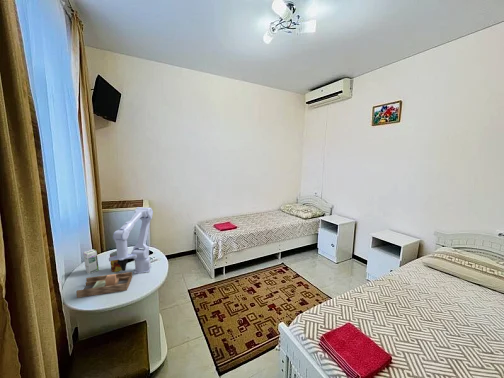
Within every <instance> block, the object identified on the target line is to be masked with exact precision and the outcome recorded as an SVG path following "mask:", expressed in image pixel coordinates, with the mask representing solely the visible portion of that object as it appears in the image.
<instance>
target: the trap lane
mask: <svg viewBox="0 0 504 378" xmlns="http://www.w3.org/2000/svg"><path fill="white" fill-rule="evenodd" d="M115 274H116V280H117V281H116V283H115V284H114V285H109V286H106V284H105V278H106V277H107V275H108V274H106V275H99V276H98V275H97V276H91V277H86V282H85V286H84V288H82V289H78V290H76V291H75V293H76V294H75V295H76V298H77V299H78V298H85V297H91V296H98V295H99V296H100V295H104V294H111V293H118V292H125V291H128V289H129V286H130V284H131V282H132V279H133V272H132V271H127V272H121V273H119V272H118V273H115Z"/></svg>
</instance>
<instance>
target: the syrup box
mask: <svg viewBox="0 0 504 378" xmlns="http://www.w3.org/2000/svg"><path fill="white" fill-rule="evenodd" d="M83 261H84V266H85V267H84V269H85V272H86V273H87V274H89V275H91V274H92V273H93V274H94V273H96V272H99V271H100V270H99V269H100V268H99V260H98V253H97V250H96V249H90V250H88V251H84V252H83Z"/></svg>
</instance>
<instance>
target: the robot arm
mask: <svg viewBox="0 0 504 378" xmlns="http://www.w3.org/2000/svg"><path fill="white" fill-rule="evenodd" d="M153 214H154V210H153V209H152V207H142V206H141V207H140V206H137V207H136V209H134V214H133V215H132V216H131V218H130V219H129V220H127V221H125V222H124V224H122V226H121V227H120V228H119V229H117V230H115V231H114V232H113V233H112V234H113V235H112V239H113V240H114V243H115V247H116V248H115V249H116V251H117V256H113V257H110V256H109V258H108V262H110V261H113V260H118V262H117V263H118V264H119V265H120V267H121V269H122V271H121V272H125V271H126V269H127V264H128V261H129V260H130V259H133V261H134V266H135V267H134V268H135V269H134V272H133V274H134V275H135V274H144V273H149V272H150V270H151V268H152V266H151V265H152V264H151V256H150V257H149V255H150V251H149V250H150V247H149V246H148V245H147V240H148V235H149V229H150V224H151V220H153ZM139 220H141V227H140V231H139V236H138V239H137V244H135V245H134V246H132V247H133V248H132V251H131V252H130V253H129V249H128V239H129V235H130V234H131V233H130V232H131V231H132V230H134V228H135V224H137V222H138V221H139Z"/></svg>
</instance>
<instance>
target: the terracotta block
mask: <svg viewBox="0 0 504 378" xmlns="http://www.w3.org/2000/svg"><path fill="white" fill-rule="evenodd" d="M116 274H117V273H114V274H106V275H107V277H106V278H105V284H106V286H109V285H114V284H115V283H116V281H117V280H116Z"/></svg>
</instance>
